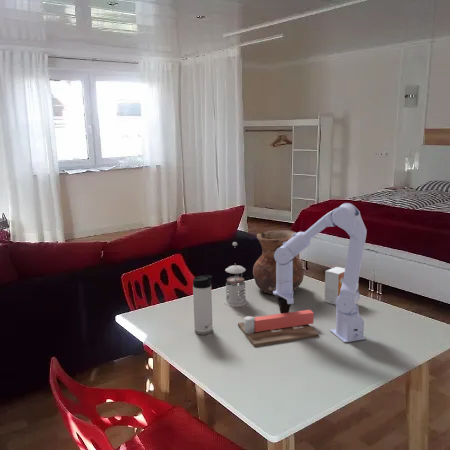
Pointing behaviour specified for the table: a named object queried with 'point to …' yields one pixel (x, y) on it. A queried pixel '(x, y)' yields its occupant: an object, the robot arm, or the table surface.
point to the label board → (279, 334)
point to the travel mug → (202, 304)
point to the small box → (333, 283)
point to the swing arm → (278, 321)
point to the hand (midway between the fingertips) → (284, 315)
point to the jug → (274, 261)
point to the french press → (235, 286)
